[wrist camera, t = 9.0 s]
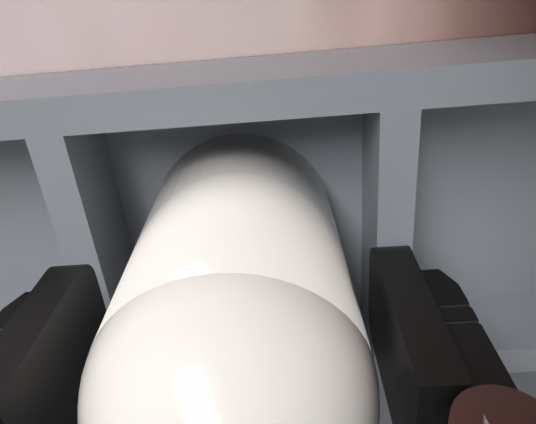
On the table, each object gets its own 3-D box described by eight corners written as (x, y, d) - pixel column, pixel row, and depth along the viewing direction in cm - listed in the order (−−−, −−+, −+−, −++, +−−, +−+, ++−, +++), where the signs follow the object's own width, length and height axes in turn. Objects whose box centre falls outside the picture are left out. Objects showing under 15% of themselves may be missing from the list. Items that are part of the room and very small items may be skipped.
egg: (327, 126, 12) (434, 395, 5) (331, 279, 14) (408, 632, 7) (142, 141, 12) (-46, 428, 5) (173, 291, 14) (79, 650, 7)
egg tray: (706, 19, 11) (829, 35, 9) (571, 451, 18) (618, 529, 16) (-208, 93, 12) (-329, 127, 10) (-6, 473, 19) (-48, 548, 17)
